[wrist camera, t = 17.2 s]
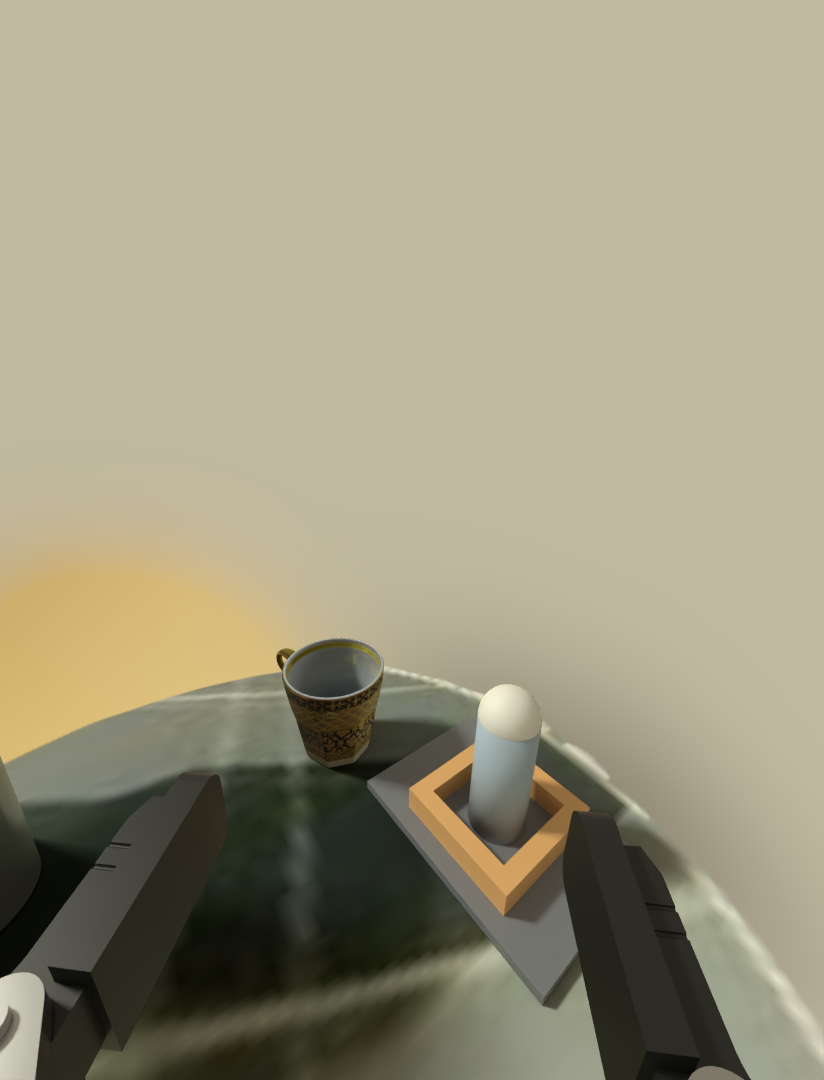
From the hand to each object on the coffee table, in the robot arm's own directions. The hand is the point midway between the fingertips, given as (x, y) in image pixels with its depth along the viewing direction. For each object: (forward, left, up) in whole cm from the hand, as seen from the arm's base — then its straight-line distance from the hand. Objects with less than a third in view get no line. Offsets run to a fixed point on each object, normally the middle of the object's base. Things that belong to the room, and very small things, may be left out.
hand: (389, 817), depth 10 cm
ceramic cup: (-29, +13, -28) cm, 42 cm away
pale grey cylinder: (-11, +20, -27) cm, 35 cm away
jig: (-11, +20, -28) cm, 36 cm away
